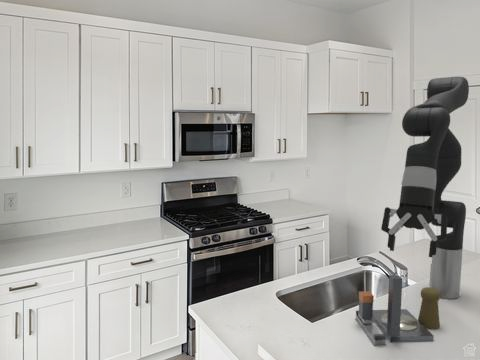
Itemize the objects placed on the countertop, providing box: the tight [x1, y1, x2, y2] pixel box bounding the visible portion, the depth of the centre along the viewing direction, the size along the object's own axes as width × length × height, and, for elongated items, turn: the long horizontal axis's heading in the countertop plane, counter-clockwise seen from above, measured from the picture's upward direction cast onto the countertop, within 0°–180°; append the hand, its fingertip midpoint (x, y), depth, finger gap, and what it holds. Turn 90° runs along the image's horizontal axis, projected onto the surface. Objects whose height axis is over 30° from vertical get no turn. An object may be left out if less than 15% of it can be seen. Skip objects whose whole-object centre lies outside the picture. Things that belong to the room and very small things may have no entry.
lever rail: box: [355, 309, 387, 346], centre depth 110 cm, size 15×3×3 cm, turn 2°
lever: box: [358, 290, 375, 324], centre depth 113 cm, size 5×3×8 cm, turn 2°
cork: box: [417, 286, 441, 331], centre depth 114 cm, size 6×6×11 cm
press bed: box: [372, 274, 435, 343], centre depth 112 cm, size 16×12×18 cm
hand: (410, 253), depth 92 cm, fingers open, 8 cm apart
